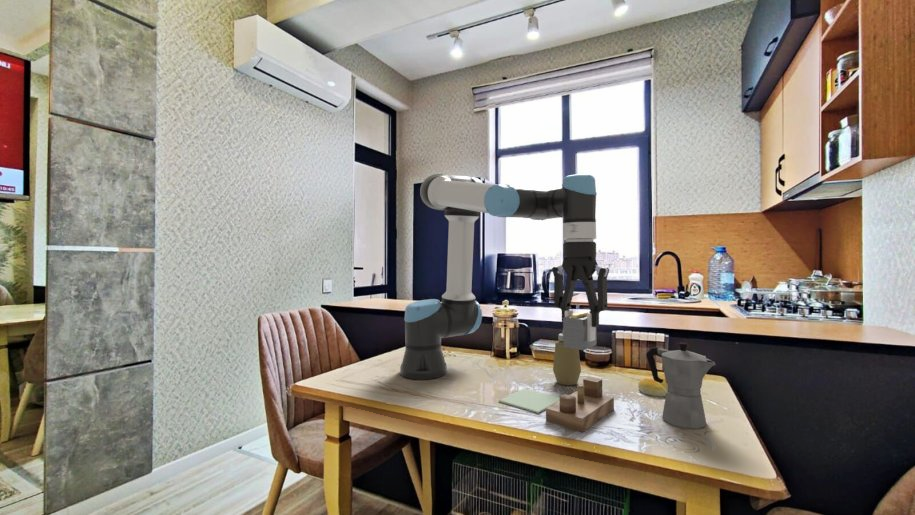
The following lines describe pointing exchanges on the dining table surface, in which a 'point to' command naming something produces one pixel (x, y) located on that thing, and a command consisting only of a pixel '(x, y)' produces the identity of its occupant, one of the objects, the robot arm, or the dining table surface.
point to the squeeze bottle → (566, 363)
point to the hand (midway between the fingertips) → (580, 338)
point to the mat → (530, 400)
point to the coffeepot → (682, 385)
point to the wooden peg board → (581, 406)
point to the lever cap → (576, 332)
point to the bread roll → (653, 387)
